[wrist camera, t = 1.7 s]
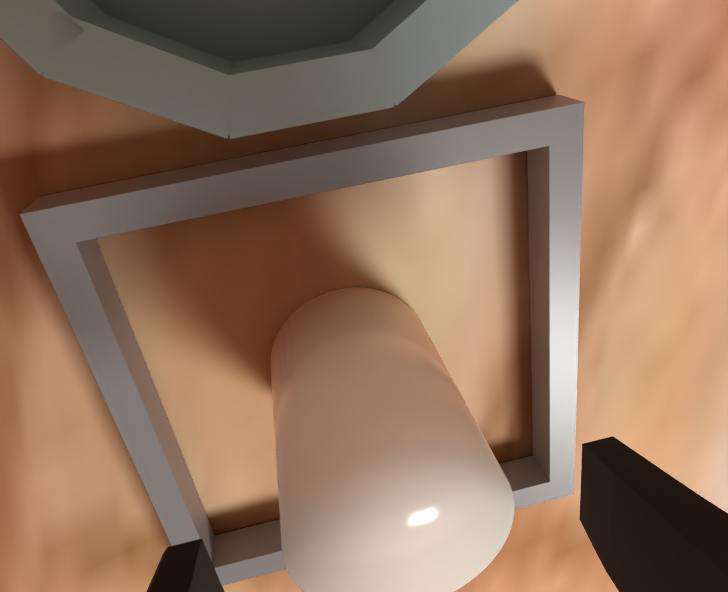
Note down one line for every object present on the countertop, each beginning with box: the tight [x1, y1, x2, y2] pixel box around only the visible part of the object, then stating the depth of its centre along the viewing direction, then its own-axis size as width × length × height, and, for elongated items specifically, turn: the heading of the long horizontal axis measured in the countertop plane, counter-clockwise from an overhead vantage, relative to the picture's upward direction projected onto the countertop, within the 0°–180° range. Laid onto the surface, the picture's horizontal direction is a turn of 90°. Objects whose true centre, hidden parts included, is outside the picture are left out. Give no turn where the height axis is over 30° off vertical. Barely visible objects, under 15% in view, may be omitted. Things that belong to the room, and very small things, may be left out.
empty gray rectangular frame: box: [20, 95, 584, 585], centre depth 15 cm, size 12×12×1 cm
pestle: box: [270, 287, 514, 592], centre depth 13 cm, size 4×4×6 cm
